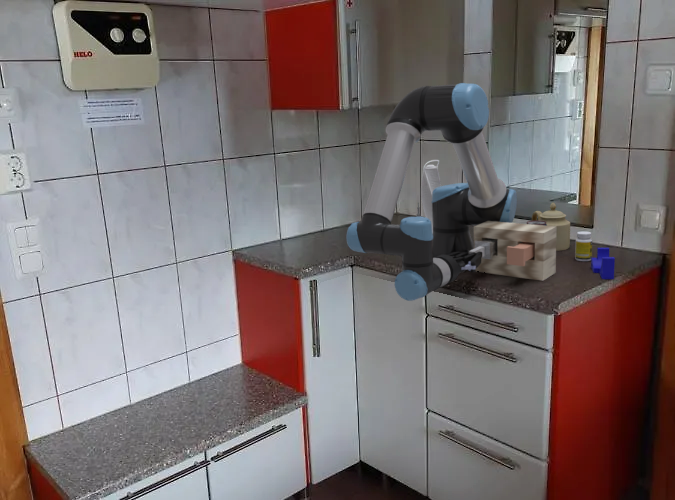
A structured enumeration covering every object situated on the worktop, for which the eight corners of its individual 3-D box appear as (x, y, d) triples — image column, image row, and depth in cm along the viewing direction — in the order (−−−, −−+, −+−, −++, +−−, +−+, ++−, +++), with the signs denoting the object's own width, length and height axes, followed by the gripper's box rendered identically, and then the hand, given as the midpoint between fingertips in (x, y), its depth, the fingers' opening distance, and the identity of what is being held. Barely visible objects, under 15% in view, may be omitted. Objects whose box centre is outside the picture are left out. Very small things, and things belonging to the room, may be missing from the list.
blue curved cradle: (591, 267, 183) (591, 247, 182) (607, 267, 182) (608, 247, 181) (596, 279, 172) (596, 258, 171) (613, 279, 171) (614, 258, 170)
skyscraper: (432, 231, 243) (430, 159, 236) (447, 234, 236) (445, 160, 230) (415, 235, 238) (413, 161, 231) (431, 238, 232) (429, 162, 225)
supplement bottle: (593, 261, 189) (594, 234, 187) (576, 261, 190) (577, 234, 188) (590, 257, 193) (591, 230, 191) (573, 257, 194) (574, 231, 192)
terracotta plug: (506, 264, 172) (506, 247, 170) (525, 253, 181) (526, 237, 180) (523, 266, 169) (523, 248, 167) (542, 255, 178) (542, 239, 177)
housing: (474, 271, 187) (473, 226, 183) (488, 263, 193) (487, 220, 190) (543, 280, 173) (543, 233, 170) (555, 272, 180) (556, 226, 177)
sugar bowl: (517, 247, 211) (518, 202, 207) (533, 240, 218) (534, 197, 215) (560, 252, 201) (561, 206, 197) (575, 245, 208) (576, 200, 205)
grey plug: (474, 257, 180) (474, 241, 179) (494, 247, 190) (494, 232, 188) (490, 259, 177) (490, 242, 176) (509, 249, 187) (509, 233, 185)
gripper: (417, 282, 166) (461, 261, 183) (462, 289, 158) (503, 266, 175) (416, 254, 164) (461, 235, 181) (461, 260, 156) (503, 240, 173)
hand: (482, 251), depth 178 cm, fingers closed
